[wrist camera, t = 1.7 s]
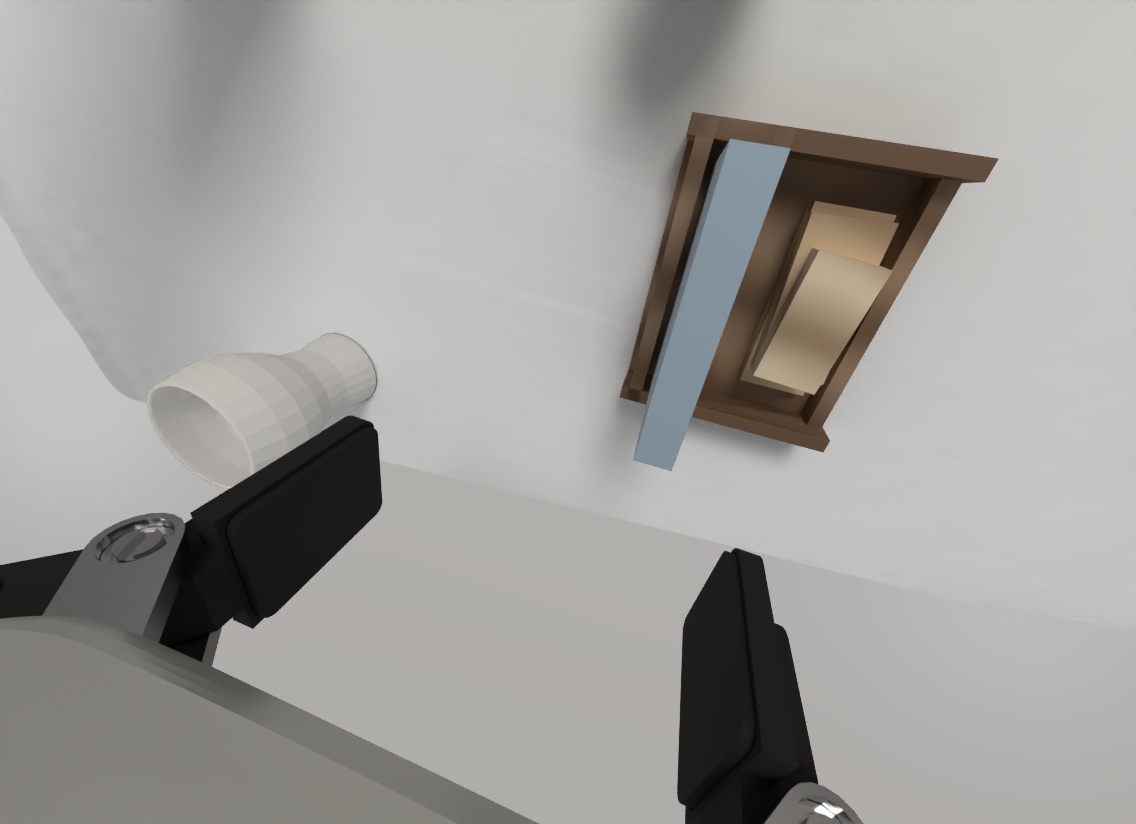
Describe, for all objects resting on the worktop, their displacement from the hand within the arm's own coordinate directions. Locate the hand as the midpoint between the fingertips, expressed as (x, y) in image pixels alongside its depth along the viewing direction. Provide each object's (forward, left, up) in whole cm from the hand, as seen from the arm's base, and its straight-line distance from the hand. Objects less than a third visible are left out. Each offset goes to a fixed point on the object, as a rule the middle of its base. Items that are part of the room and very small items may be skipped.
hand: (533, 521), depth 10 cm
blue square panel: (-3, +3, -24) cm, 25 cm away
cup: (+14, -29, -25) cm, 41 cm away
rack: (-3, +8, -25) cm, 26 cm away
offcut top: (-2, +11, -21) cm, 24 cm away
